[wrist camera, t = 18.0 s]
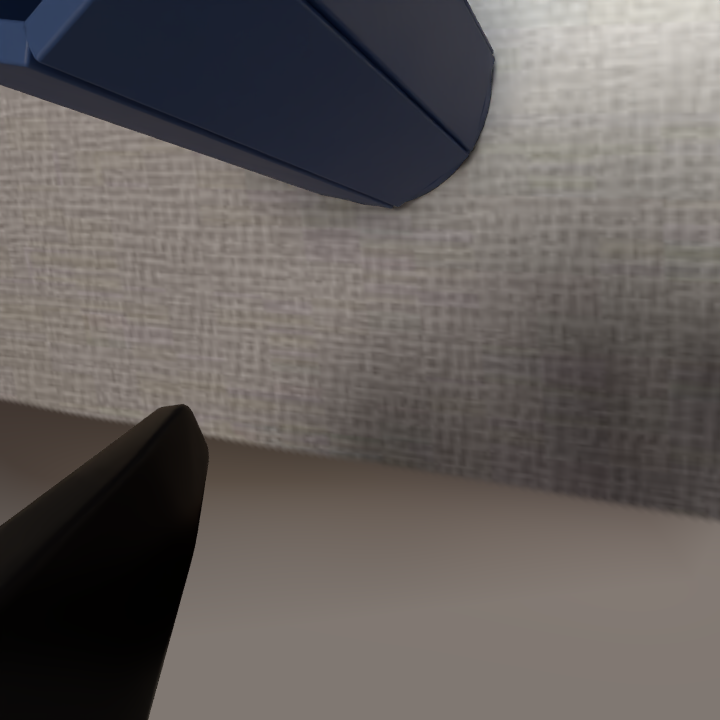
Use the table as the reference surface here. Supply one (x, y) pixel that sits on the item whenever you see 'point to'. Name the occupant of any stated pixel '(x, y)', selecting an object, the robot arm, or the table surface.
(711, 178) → the table surface
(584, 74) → the table surface
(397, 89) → the measuring cup
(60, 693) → the robot arm
